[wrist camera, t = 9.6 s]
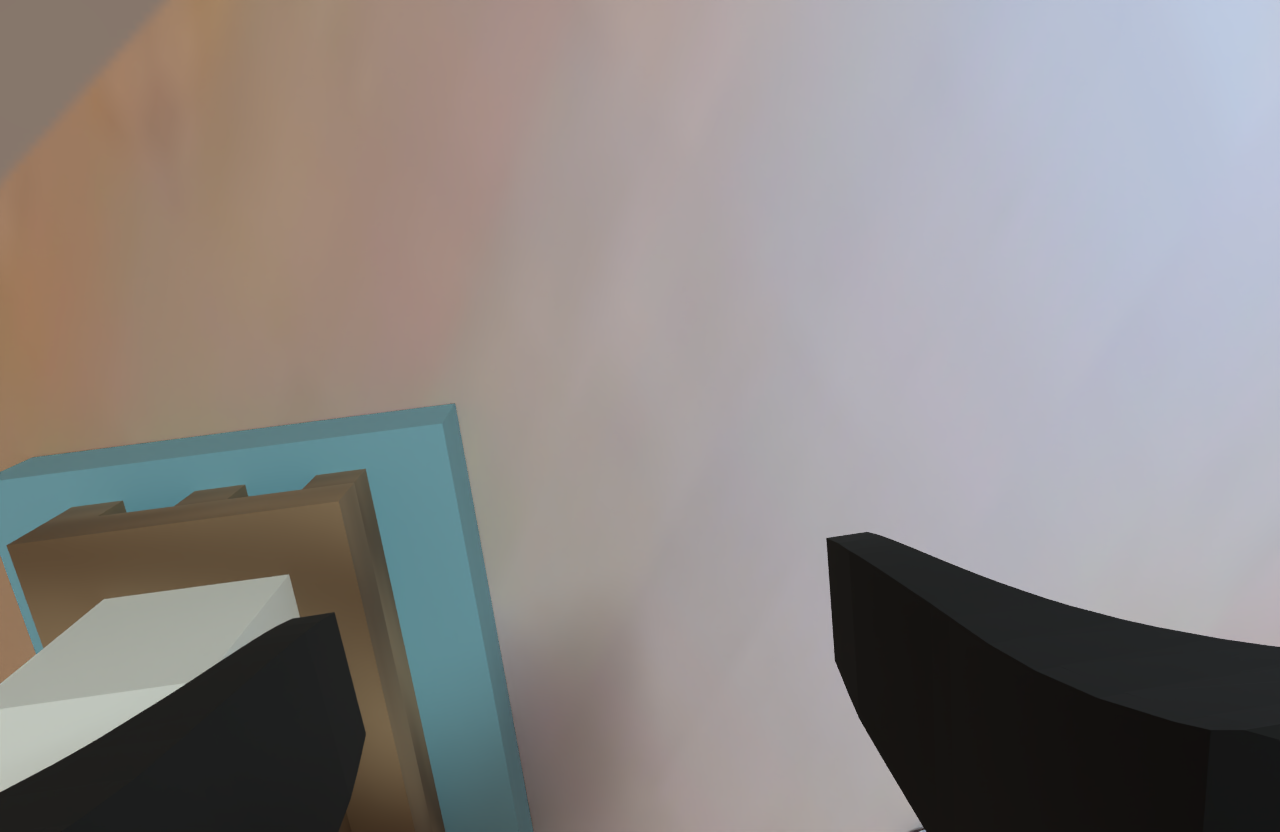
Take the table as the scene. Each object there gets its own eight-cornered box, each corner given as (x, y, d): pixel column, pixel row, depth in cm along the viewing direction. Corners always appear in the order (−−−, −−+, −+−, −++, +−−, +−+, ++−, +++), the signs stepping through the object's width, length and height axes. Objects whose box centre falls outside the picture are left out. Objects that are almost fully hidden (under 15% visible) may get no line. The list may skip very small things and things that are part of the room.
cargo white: (328, 728, 18) (260, 868, 14) (153, 753, 18) (38, 902, 14) (288, 574, 17) (204, 680, 13) (104, 599, 17) (-38, 713, 13)
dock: (559, 978, 26) (558, 1039, 24) (227, 1031, 25) (197, 1099, 23) (455, 403, 21) (442, 423, 19) (32, 457, 20) (-26, 483, 18)
